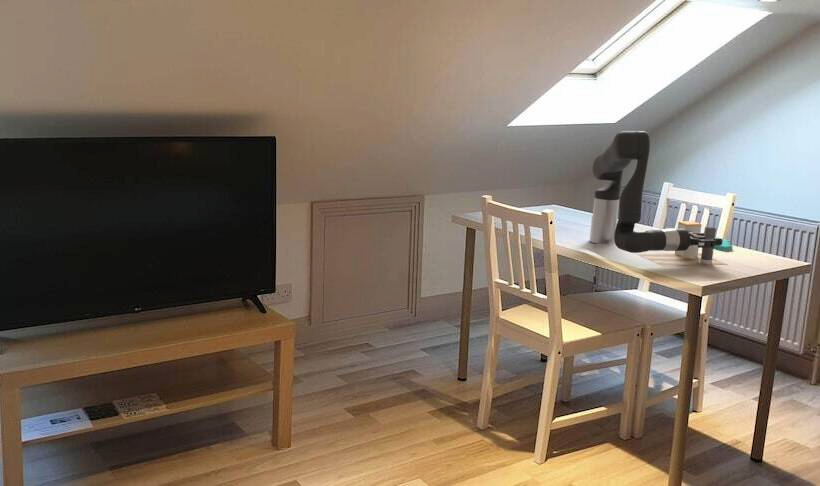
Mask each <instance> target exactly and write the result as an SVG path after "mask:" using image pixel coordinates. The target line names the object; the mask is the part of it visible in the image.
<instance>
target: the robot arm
mask: <svg viewBox="0 0 820 486" xmlns="http://www.w3.org/2000/svg"><path fill="white" fill-rule="evenodd" d="M650 143H651V142H650V135H649V133H648V132H647V131H645V130H644V131H643V130H623V131H619V132H617V133H616V135H615V136H614V138H613V140H612V141H611V144H610V146H608V147H607V148H606V149H605V151H604V152H603V153H601V154H600V155H598V156H597V157H596V158H595V159H594V161H593V163H592V174H593V177H594V178H596V180H600V181H611V182H610V183H609V184H608V185H606V186H603V187H599V188H598V189H597V188H596V190H595V191H594V201H593V207H592V209H593V210H592V216H591V222H590V233H589V236H590V237H589V240H590V241H589V242H591V243H592V244H595V245H607V244H608V245H613V244H615V246H616V247H617V248H618V249H619V250H622V251H624V252H628V253H632V254H642V253H646V252H654V251H655V252H658V251H659V252H660V251H661V252H662V251H663V252H675V251H685V250H687V249H688V248H689V246H690V245H691V246H694V247H695V246H698V247H699V249H702V248H714V246H715V245H722V241H723V239H724V238H721V237H717V238H716V239H713V238H706V236H704V232H701V233H696V232H691V231H687V230H686V229H678V228H664V229H648V230H645V231H634V229H635V225H636V224H638V223H640V221H641V217H642V206H643V205H642V202H643V201H642V200H643V191H644V185H645V179H646V175H647V168H648V162H649V156H650V147H651V144H650ZM633 160H634V161H635V160H636V166H635V170H634V172H633V174H632V176H631V178H630V180H629V181H628V182H627V184H626V185H625V187H624V188H623V190H622V191H621V185H622V180H623V179H622V178H623V174H624V170H625V169H626V168H627V167H628V166H629V165H630V163H631V161H633ZM703 239H704V240H703Z"/></svg>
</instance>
